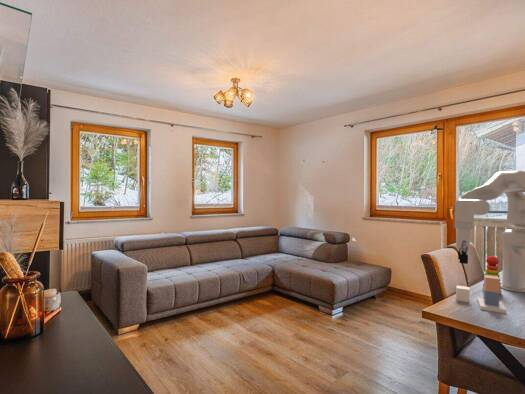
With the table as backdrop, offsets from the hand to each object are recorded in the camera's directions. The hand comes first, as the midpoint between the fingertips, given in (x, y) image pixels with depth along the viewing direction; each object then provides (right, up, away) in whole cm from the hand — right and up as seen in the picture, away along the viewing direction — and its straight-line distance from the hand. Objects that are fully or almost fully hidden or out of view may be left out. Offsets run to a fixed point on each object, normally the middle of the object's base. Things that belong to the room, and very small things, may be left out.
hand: (462, 261), depth 146 cm
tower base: (+7, -19, -8) cm, 22 cm away
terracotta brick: (+7, -11, -8) cm, 16 cm away
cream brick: (0, -19, +1) cm, 19 cm away
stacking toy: (+23, -19, +12) cm, 32 cm away
